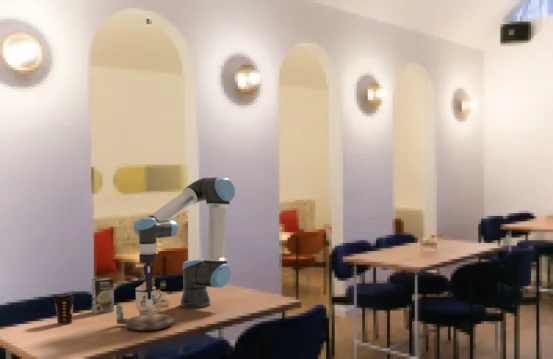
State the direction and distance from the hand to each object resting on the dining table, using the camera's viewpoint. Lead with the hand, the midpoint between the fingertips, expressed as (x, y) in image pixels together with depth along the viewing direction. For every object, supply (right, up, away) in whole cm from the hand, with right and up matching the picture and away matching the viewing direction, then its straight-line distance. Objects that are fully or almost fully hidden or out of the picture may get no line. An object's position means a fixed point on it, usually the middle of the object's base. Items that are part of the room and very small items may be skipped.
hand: (148, 304), depth 264 cm
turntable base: (0, -10, 0) cm, 10 cm away
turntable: (-2, -9, 0) cm, 9 cm away
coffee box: (-29, -10, +31) cm, 44 cm away
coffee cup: (-40, -11, +10) cm, 43 cm away
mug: (-4, -10, +20) cm, 22 cm away
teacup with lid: (0, -2, +1) cm, 2 cm away
